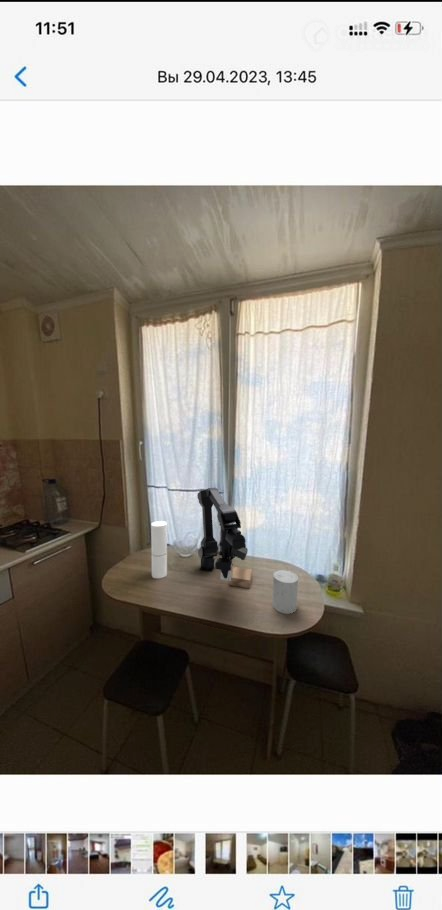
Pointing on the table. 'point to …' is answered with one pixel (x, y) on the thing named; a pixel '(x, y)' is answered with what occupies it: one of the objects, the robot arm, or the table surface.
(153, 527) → the cylindrical container
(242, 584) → the tan block
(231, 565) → the robot arm
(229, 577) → the grey cube
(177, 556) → the table surface
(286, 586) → the white cylinder
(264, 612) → the table surface
